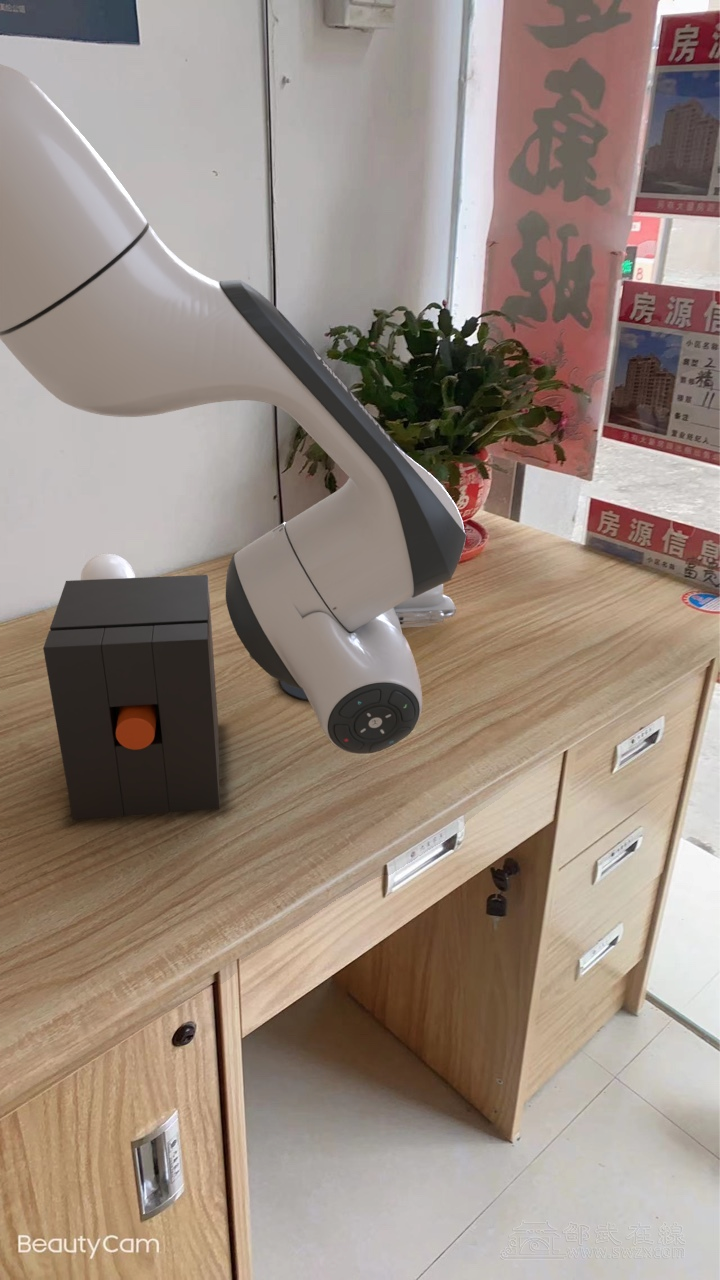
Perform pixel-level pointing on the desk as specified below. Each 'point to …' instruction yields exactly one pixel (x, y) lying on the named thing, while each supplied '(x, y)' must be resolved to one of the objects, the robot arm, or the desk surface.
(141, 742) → the button
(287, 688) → the coaster
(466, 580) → the desk surface
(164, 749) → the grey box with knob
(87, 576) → the lightbulb
